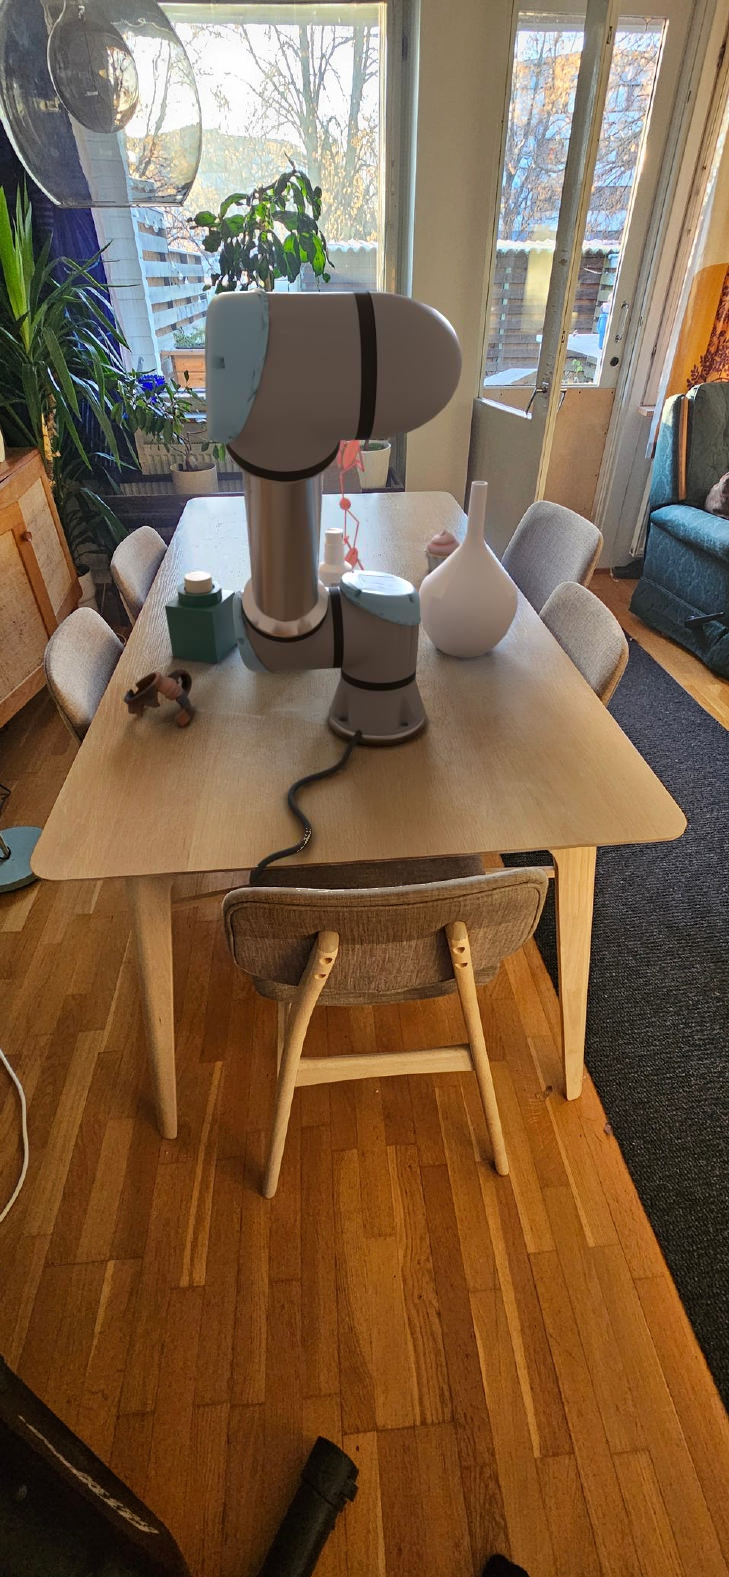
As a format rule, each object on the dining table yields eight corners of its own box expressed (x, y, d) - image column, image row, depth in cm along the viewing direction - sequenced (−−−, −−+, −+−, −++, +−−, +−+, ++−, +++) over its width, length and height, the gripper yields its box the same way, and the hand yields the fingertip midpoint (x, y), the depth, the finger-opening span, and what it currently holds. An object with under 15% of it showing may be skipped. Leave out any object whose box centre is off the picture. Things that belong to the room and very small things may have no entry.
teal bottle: (217, 663, 131) (209, 600, 124) (172, 657, 133) (162, 594, 126) (239, 641, 139) (233, 580, 132) (197, 635, 141) (189, 575, 133)
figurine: (353, 549, 183) (353, 394, 162) (376, 585, 163) (380, 414, 142) (293, 552, 180) (285, 395, 159) (309, 590, 160) (303, 416, 139)
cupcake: (416, 567, 173) (419, 524, 167) (452, 563, 175) (456, 522, 169) (430, 580, 166) (433, 537, 160) (467, 577, 168) (472, 533, 162)
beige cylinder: (205, 596, 126) (204, 582, 125) (181, 593, 128) (179, 579, 126) (217, 586, 130) (215, 572, 129) (193, 583, 131) (191, 569, 130)
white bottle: (347, 628, 144) (347, 537, 133) (314, 625, 145) (312, 534, 134) (355, 615, 149) (355, 526, 138) (323, 612, 150) (321, 524, 139)
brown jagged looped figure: (177, 739, 111) (141, 700, 107) (142, 745, 117) (107, 708, 113) (217, 689, 118) (185, 650, 113) (182, 697, 124) (151, 660, 120)
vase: (521, 667, 131) (548, 497, 114) (421, 669, 130) (433, 498, 112) (499, 625, 146) (520, 469, 128) (409, 627, 145) (418, 470, 127)
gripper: (257, 406, 116) (267, 552, 130) (235, 421, 105) (248, 578, 120) (303, 408, 115) (308, 554, 129) (285, 423, 105) (292, 580, 119)
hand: (279, 565), depth 124 cm, fingers closed
